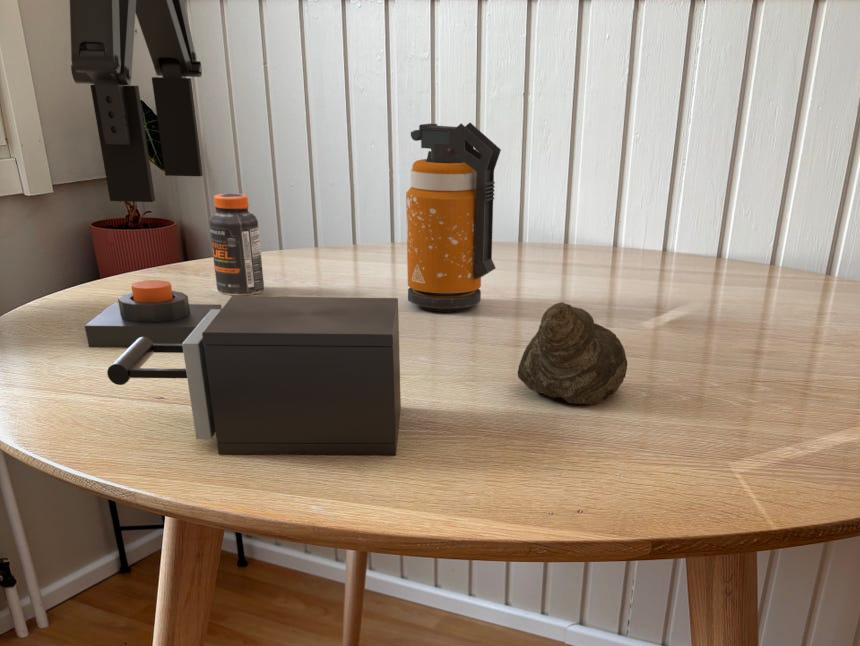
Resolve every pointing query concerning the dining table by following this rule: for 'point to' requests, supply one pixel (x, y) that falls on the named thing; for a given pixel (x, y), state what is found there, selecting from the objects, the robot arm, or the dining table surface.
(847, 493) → the dining table surface
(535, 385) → the seashell
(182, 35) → the robot arm
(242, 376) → the drawer cabinet
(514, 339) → the dining table surface
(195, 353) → the dispenser drawer
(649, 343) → the dining table surface
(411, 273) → the canister
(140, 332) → the control block
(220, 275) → the pill bottle
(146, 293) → the button
